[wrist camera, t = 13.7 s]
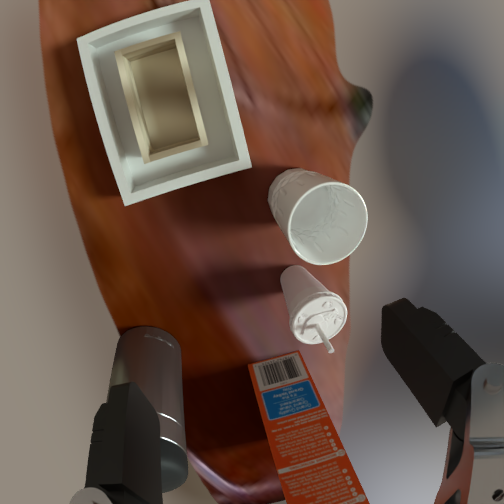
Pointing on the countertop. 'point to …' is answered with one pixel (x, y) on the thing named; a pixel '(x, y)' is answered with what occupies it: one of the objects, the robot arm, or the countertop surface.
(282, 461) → the orange cereal box
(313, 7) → the countertop surface
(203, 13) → the white crate
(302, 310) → the smoothie
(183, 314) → the countertop surface
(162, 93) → the birch crate
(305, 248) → the white cup
